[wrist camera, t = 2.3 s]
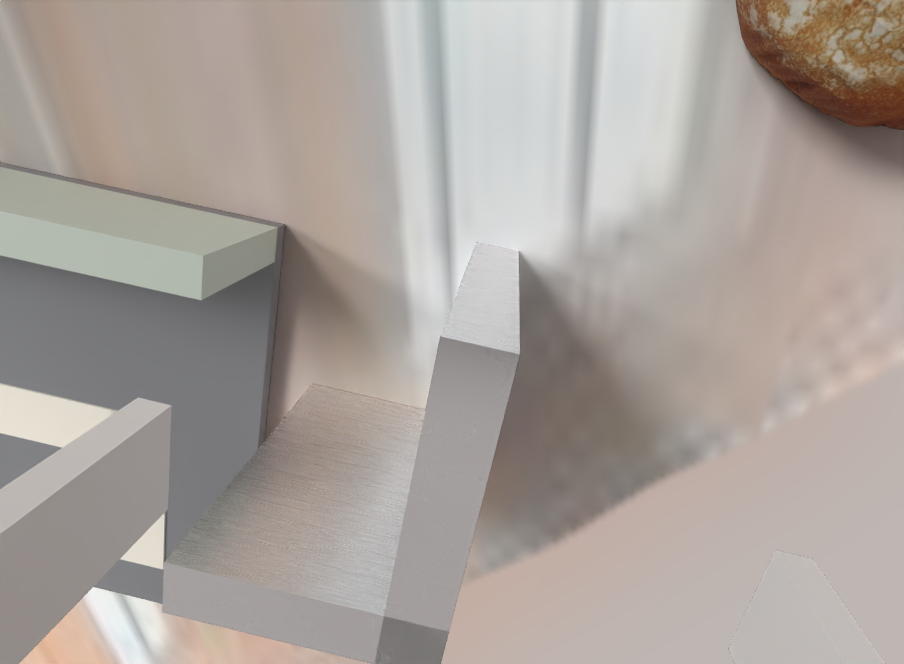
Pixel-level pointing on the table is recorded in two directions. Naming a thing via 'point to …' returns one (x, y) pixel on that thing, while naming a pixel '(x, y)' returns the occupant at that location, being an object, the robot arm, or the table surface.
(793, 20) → the bread roll
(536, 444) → the table surface
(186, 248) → the corner tray
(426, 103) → the table surface
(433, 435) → the angle bracket
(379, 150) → the table surface
